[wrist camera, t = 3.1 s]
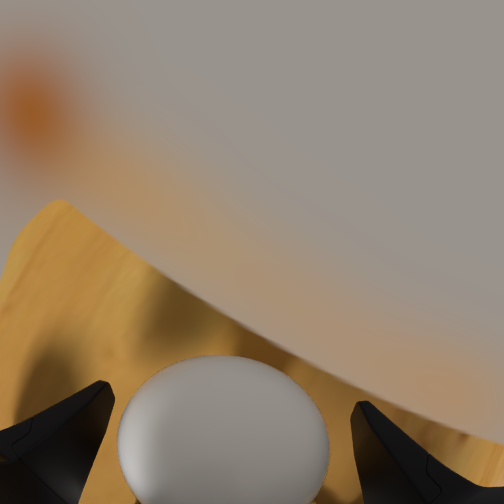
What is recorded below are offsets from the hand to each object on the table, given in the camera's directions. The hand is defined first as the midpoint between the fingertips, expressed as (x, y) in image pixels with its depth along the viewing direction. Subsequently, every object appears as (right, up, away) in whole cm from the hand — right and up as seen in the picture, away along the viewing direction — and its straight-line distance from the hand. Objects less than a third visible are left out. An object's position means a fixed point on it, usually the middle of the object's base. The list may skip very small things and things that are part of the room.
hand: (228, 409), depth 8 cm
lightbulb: (0, -4, +5) cm, 7 cm away
